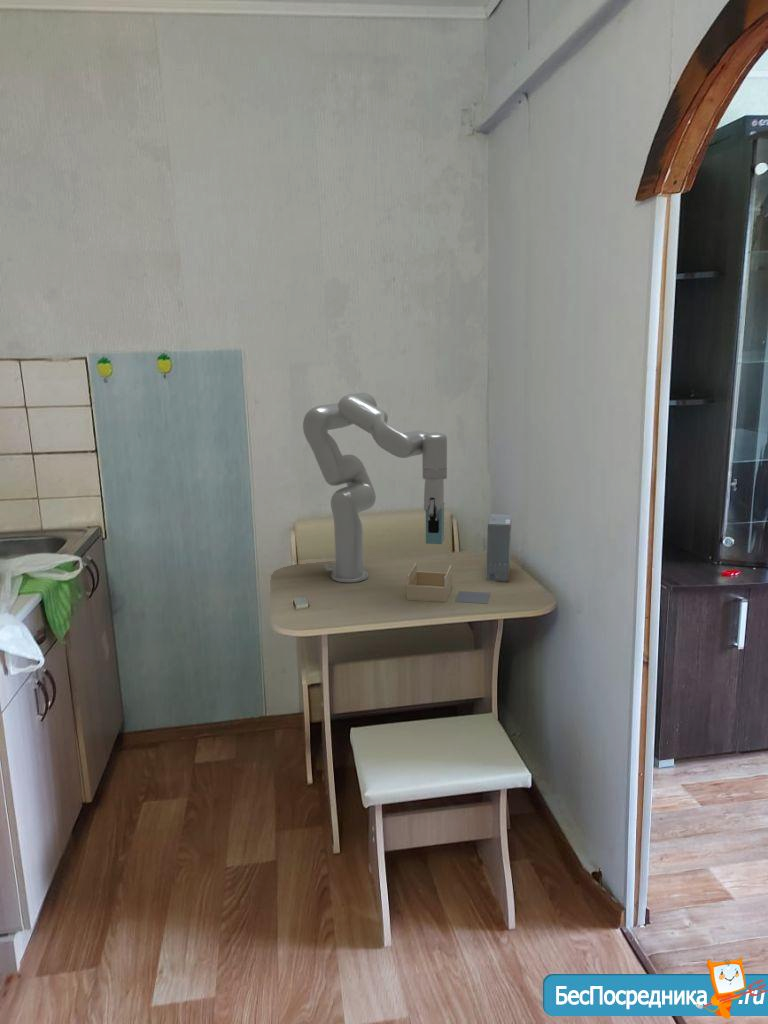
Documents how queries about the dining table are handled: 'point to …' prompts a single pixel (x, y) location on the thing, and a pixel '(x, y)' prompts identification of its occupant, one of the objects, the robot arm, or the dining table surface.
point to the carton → (428, 585)
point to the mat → (472, 597)
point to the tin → (439, 537)
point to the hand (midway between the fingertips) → (434, 529)
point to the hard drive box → (498, 547)
